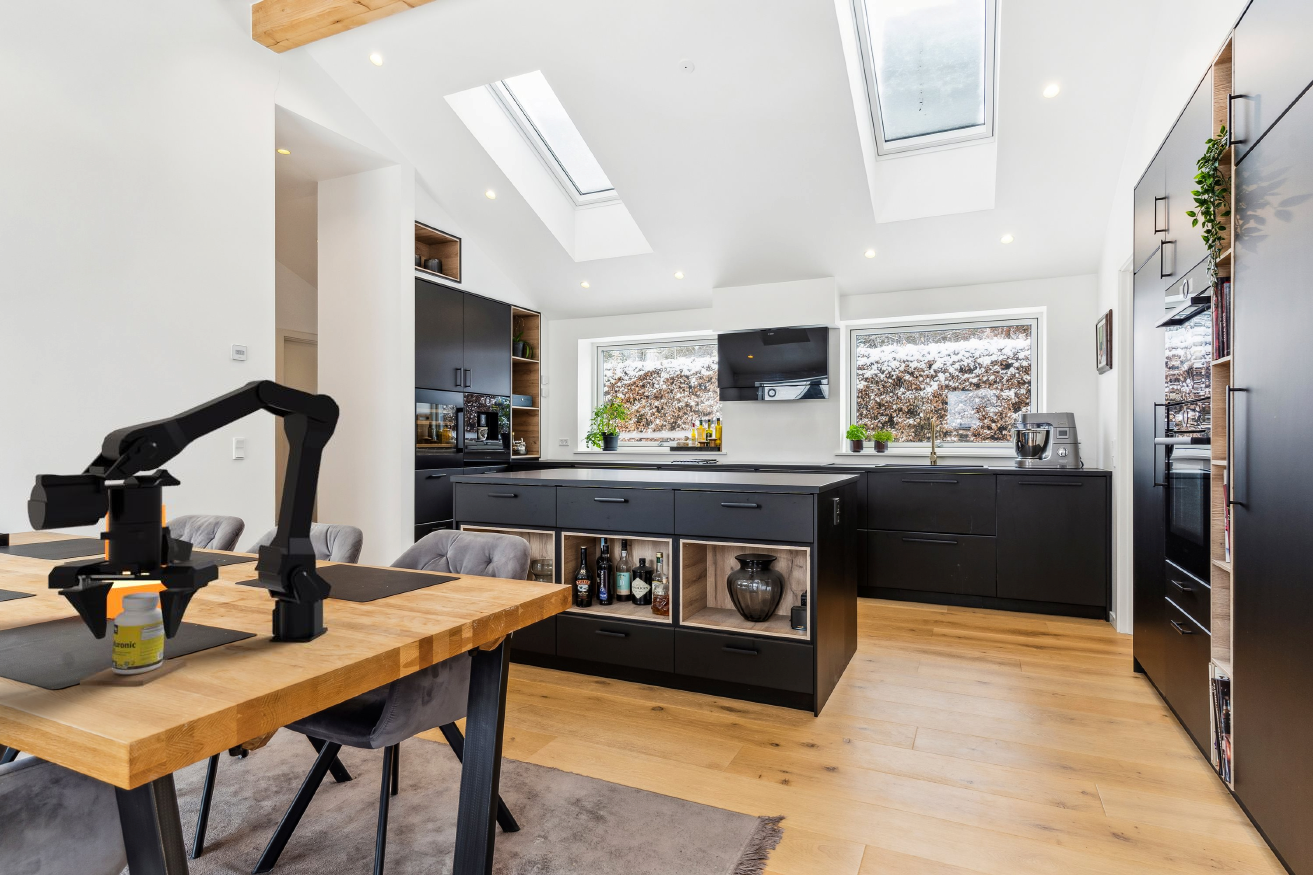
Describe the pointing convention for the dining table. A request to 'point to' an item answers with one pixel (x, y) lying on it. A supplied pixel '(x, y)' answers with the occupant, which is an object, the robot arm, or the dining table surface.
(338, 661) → the dining table surface
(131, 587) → the orange juice
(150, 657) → the supplement bottle
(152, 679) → the walnut slab
